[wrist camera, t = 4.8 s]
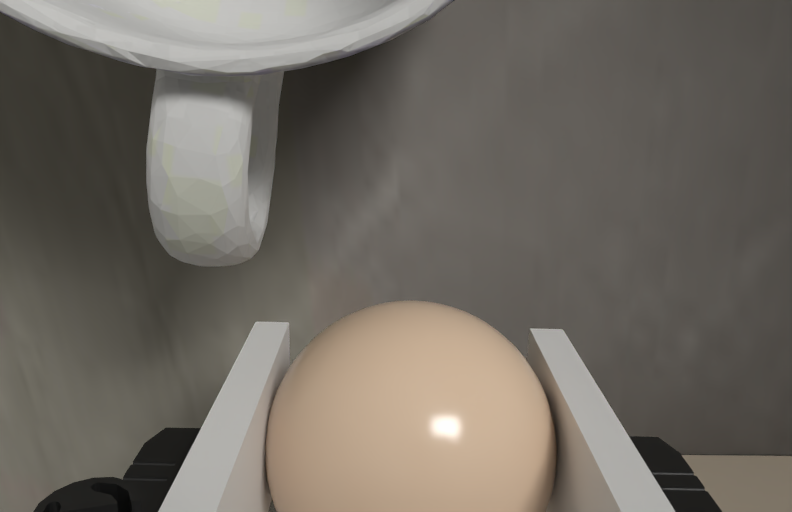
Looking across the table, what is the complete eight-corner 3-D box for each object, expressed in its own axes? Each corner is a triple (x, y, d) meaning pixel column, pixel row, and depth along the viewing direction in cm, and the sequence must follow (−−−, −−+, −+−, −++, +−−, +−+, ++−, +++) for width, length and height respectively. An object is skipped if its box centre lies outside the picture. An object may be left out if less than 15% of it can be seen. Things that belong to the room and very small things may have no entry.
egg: (285, 261, 15) (227, 377, 9) (533, 267, 15) (618, 384, 10) (289, 477, 16) (242, 681, 11) (514, 481, 16) (576, 684, 11)
